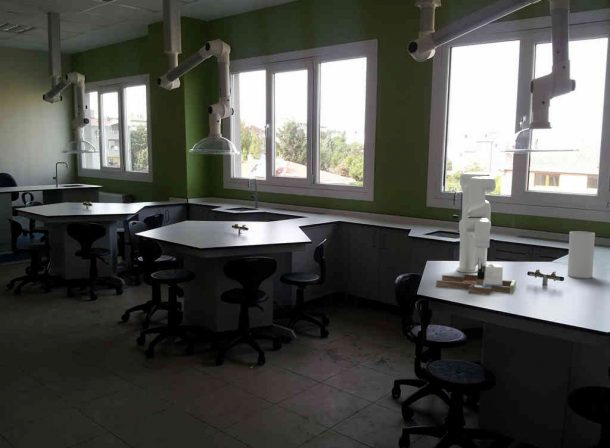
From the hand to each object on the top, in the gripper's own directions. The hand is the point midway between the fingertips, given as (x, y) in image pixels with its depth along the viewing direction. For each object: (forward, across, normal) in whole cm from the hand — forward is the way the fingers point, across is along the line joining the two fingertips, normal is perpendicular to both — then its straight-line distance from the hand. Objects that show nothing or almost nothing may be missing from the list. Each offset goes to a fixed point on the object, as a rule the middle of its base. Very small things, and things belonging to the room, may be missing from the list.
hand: (480, 279), depth 272 cm
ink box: (+4, -1, +6) cm, 7 cm away
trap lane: (+4, 0, -3) cm, 5 cm away
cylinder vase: (+4, -52, +46) cm, 70 cm away
